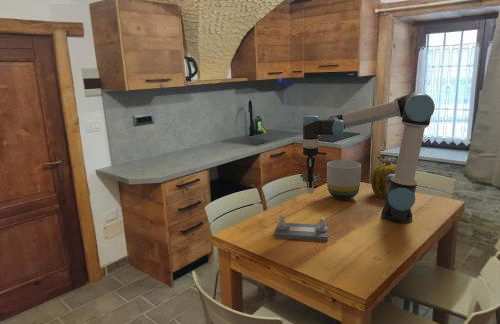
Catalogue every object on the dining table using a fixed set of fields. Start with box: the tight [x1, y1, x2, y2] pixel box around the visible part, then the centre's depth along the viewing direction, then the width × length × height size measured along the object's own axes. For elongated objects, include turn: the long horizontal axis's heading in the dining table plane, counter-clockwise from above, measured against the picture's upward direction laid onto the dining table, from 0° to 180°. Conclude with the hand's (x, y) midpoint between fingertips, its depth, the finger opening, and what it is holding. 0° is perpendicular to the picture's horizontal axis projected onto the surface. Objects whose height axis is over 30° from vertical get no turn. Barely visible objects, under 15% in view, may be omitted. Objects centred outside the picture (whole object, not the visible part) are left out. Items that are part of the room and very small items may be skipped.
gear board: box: [274, 215, 329, 242], centre depth 180 cm, size 24×14×8 cm, turn 79°
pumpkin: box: [370, 154, 397, 199], centre depth 227 cm, size 19×19×25 cm
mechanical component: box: [300, 172, 322, 183], centre depth 192 cm, size 3×10×10 cm, turn 78°
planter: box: [326, 159, 362, 201], centre depth 225 cm, size 20×20×21 cm
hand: (310, 192), depth 193 cm, fingers closed on mechanical component, 3 cm apart
